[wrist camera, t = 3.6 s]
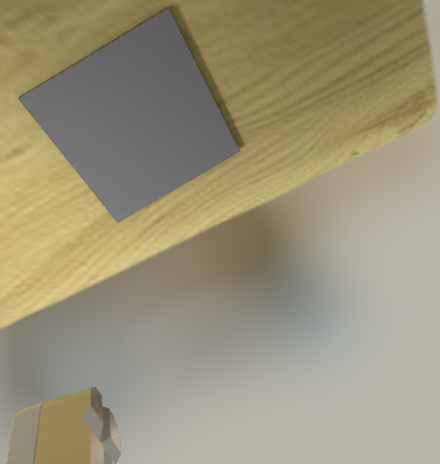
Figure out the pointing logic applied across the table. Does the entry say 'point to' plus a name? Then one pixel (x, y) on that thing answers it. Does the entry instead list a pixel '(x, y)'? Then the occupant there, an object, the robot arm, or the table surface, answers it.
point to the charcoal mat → (134, 117)
